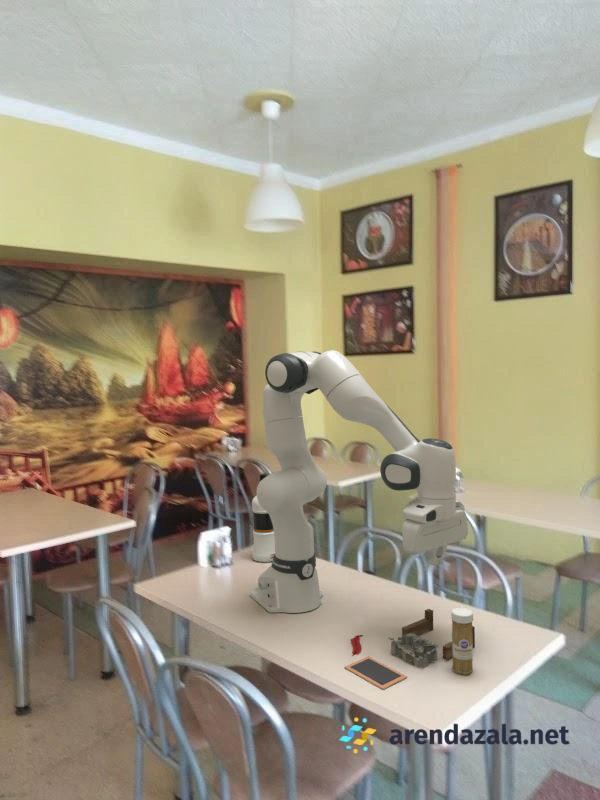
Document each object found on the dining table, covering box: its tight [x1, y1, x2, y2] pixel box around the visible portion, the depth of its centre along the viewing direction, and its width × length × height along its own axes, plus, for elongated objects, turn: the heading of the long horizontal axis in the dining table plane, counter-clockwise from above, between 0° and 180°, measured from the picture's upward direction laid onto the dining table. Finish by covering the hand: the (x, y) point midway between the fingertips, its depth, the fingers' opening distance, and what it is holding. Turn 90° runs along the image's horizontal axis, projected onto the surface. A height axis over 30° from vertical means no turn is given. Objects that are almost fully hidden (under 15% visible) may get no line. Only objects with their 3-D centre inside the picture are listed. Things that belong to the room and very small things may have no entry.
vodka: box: [251, 473, 275, 563], centre depth 213 cm, size 9×9×30 cm
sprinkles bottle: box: [450, 607, 474, 676], centre depth 134 cm, size 5×5×13 cm
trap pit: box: [344, 655, 408, 691], centre depth 135 cm, size 12×8×1 cm, turn 38°
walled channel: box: [401, 608, 476, 662], centre depth 148 cm, size 14×10×5 cm
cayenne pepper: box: [350, 634, 364, 657], centre depth 148 cm, size 12×5×2 cm, turn 152°
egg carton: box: [388, 633, 440, 668], centre depth 142 cm, size 11×8×4 cm
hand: (436, 564), depth 147 cm, fingers closed
